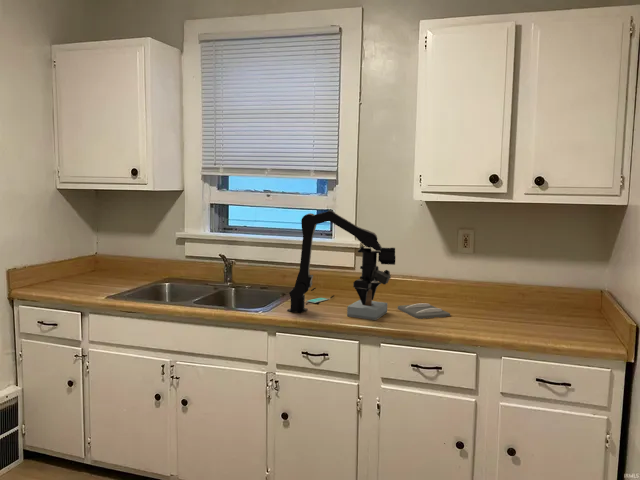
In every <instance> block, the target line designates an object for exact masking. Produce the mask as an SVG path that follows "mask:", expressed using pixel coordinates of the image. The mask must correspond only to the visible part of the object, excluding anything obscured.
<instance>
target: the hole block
mask: <svg viewBox="0 0 640 480" xmlns="http://www.w3.org/2000/svg"><path fill="white" fill-rule="evenodd" d="M346 311H347V312H346V317H350V318H359V319H365V320H372V321H377V320H379V319H380V318H381V317H383V316H384V315H385V314H387V313H388V302H384V301H374V300H372V306H365V305H364V304H362V302H361V300H360V299H359V300H357V301H355V302H353V303H350V304H349V305H348V306H347V310H346Z"/></svg>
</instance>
